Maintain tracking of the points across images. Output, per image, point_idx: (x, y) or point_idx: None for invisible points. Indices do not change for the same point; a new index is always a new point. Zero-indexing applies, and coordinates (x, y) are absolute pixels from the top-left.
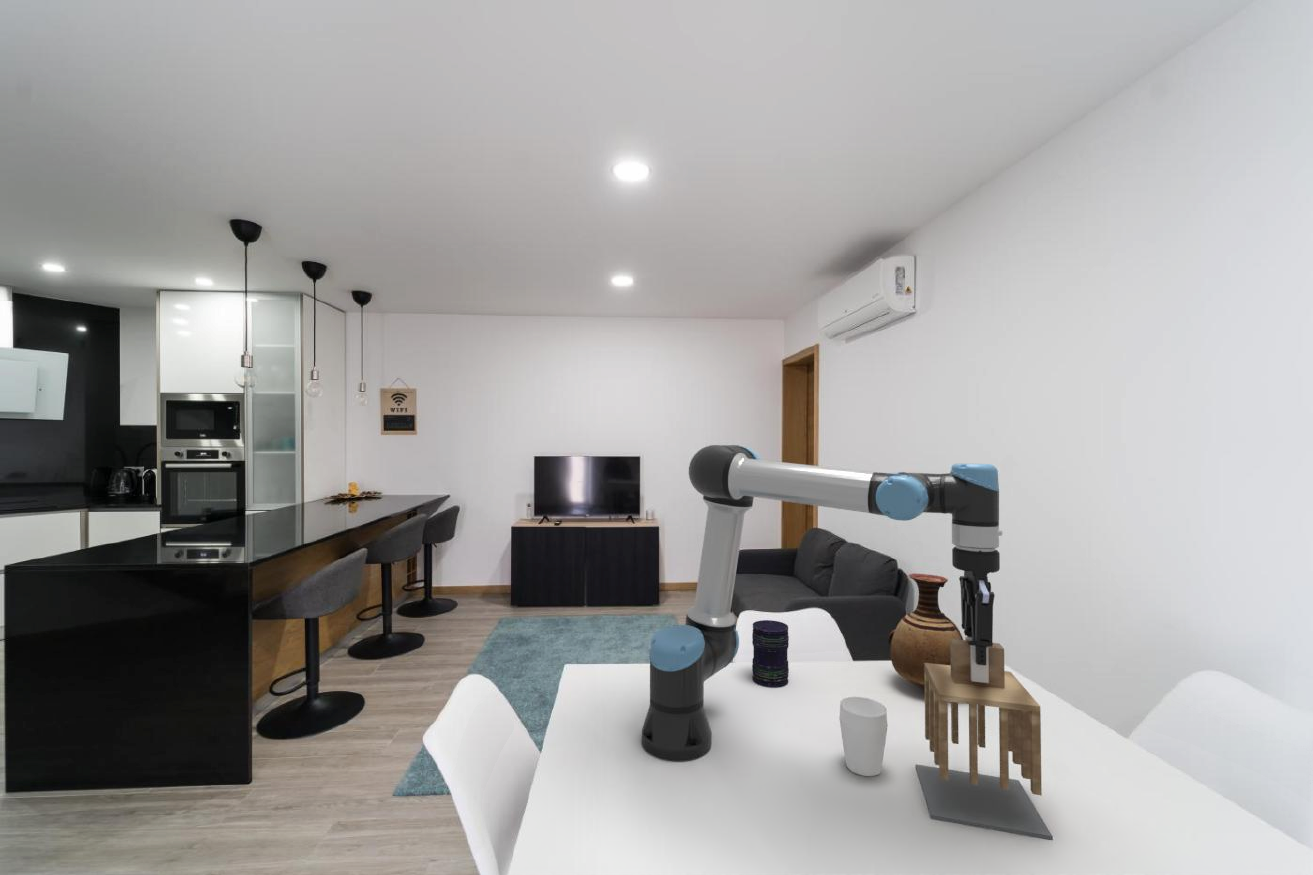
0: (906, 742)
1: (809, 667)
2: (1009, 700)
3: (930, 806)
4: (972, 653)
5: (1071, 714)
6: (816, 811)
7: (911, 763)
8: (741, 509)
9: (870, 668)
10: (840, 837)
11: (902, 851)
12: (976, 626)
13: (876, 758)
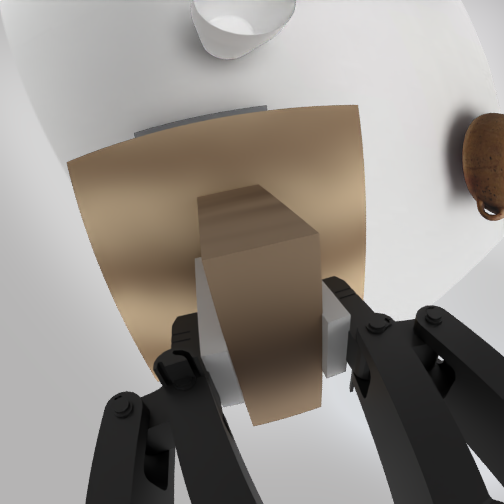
0: (335, 98)
1: (463, 21)
2: (147, 336)
3: (154, 130)
4: (198, 327)
5: (440, 294)
6: (90, 16)
7: (274, 100)
8: None
9: (488, 96)
10: (54, 55)
11: (57, 116)
12: (95, 497)
13: (206, 46)
